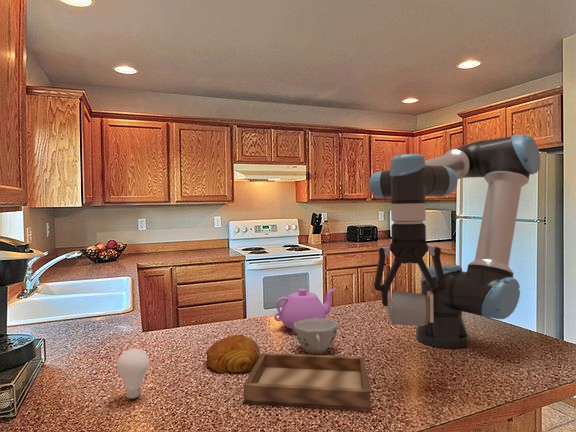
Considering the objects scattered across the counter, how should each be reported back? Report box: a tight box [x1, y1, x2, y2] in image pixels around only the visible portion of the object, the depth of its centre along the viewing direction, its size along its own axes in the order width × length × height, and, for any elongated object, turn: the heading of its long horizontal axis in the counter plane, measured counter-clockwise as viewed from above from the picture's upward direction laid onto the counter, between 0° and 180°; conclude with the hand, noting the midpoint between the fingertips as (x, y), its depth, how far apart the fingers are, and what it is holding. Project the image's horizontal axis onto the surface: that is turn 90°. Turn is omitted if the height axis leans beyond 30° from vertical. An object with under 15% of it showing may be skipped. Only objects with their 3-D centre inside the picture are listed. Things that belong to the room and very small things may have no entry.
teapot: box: [273, 287, 337, 335], centre depth 132 cm, size 22×16×14 cm
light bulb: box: [116, 347, 150, 400], centre depth 85 cm, size 7×7×11 cm
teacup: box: [294, 317, 338, 355], centre depth 111 cm, size 15×12×8 cm
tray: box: [243, 352, 371, 412], centre depth 89 cm, size 26×18×4 cm
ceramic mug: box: [390, 290, 429, 327], centre depth 90 cm, size 11×8×8 cm
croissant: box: [205, 334, 261, 374], centre depth 104 cm, size 14×16×8 cm
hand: (409, 320), depth 89 cm, fingers closed on ceramic mug, 8 cm apart
